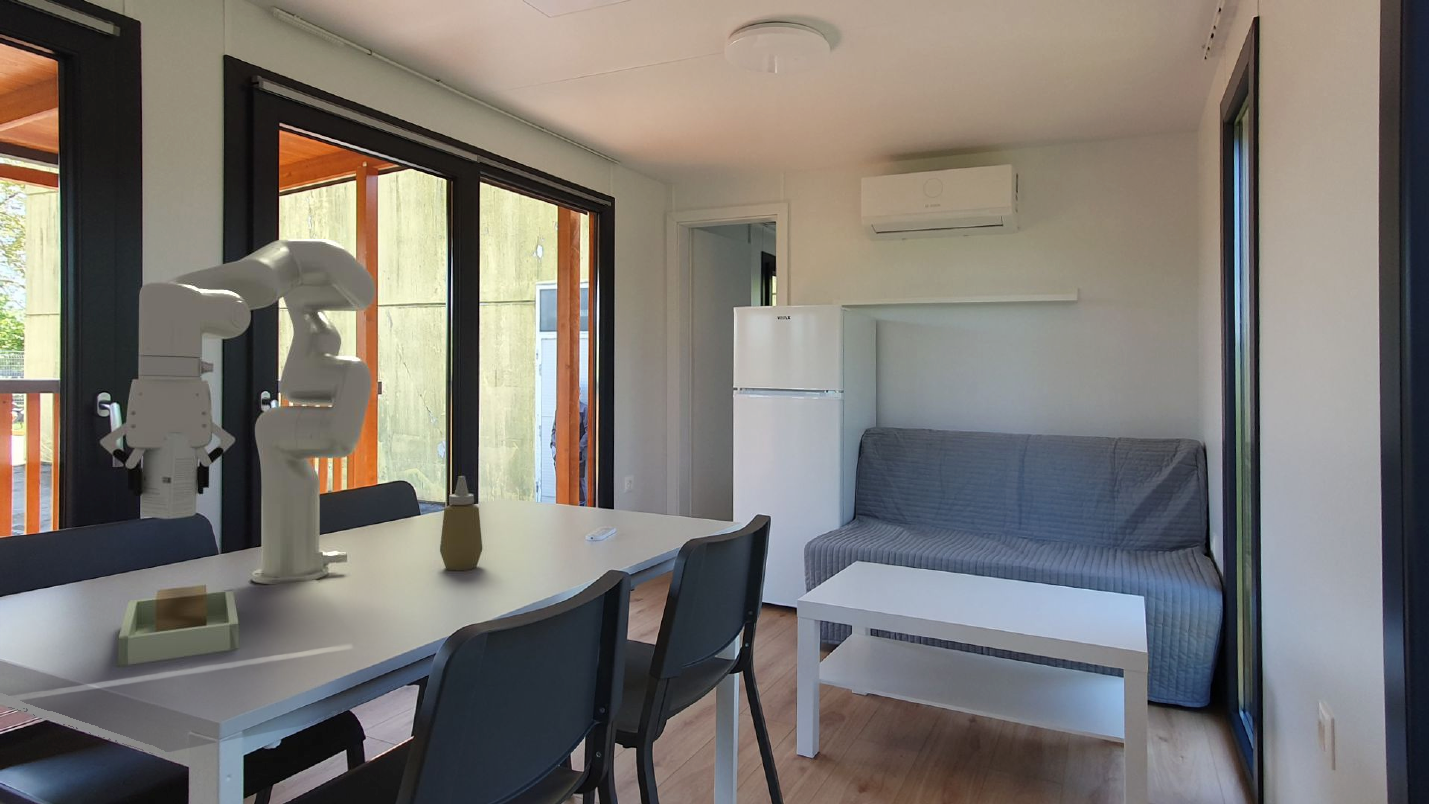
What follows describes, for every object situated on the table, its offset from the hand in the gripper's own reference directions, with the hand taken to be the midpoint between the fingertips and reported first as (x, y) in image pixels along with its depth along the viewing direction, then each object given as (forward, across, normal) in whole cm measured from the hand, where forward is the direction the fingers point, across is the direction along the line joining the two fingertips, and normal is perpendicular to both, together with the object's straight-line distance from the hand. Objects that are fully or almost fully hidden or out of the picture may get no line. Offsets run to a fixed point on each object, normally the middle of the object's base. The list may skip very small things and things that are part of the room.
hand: (169, 493), depth 115 cm
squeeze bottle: (+20, -47, -21) cm, 55 cm away
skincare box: (+3, 0, 0) cm, 3 cm away
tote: (+20, -2, +4) cm, 21 cm away
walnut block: (+20, -2, -1) cm, 20 cm away
